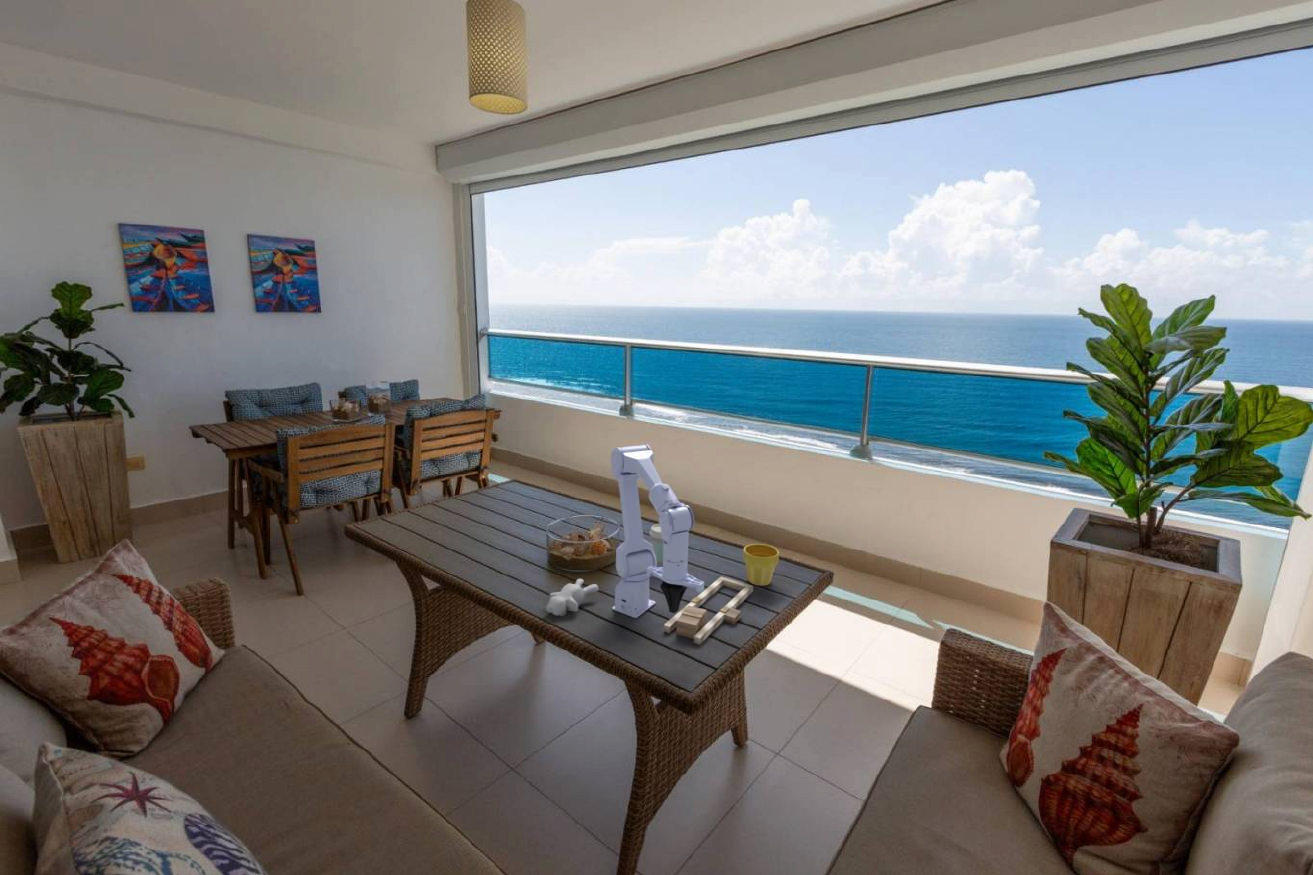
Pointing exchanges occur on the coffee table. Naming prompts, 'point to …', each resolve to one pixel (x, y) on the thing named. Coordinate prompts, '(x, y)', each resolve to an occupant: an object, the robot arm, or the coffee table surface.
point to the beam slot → (726, 612)
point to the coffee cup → (657, 543)
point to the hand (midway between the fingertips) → (673, 610)
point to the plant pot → (760, 563)
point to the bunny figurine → (569, 598)
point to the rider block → (691, 621)
